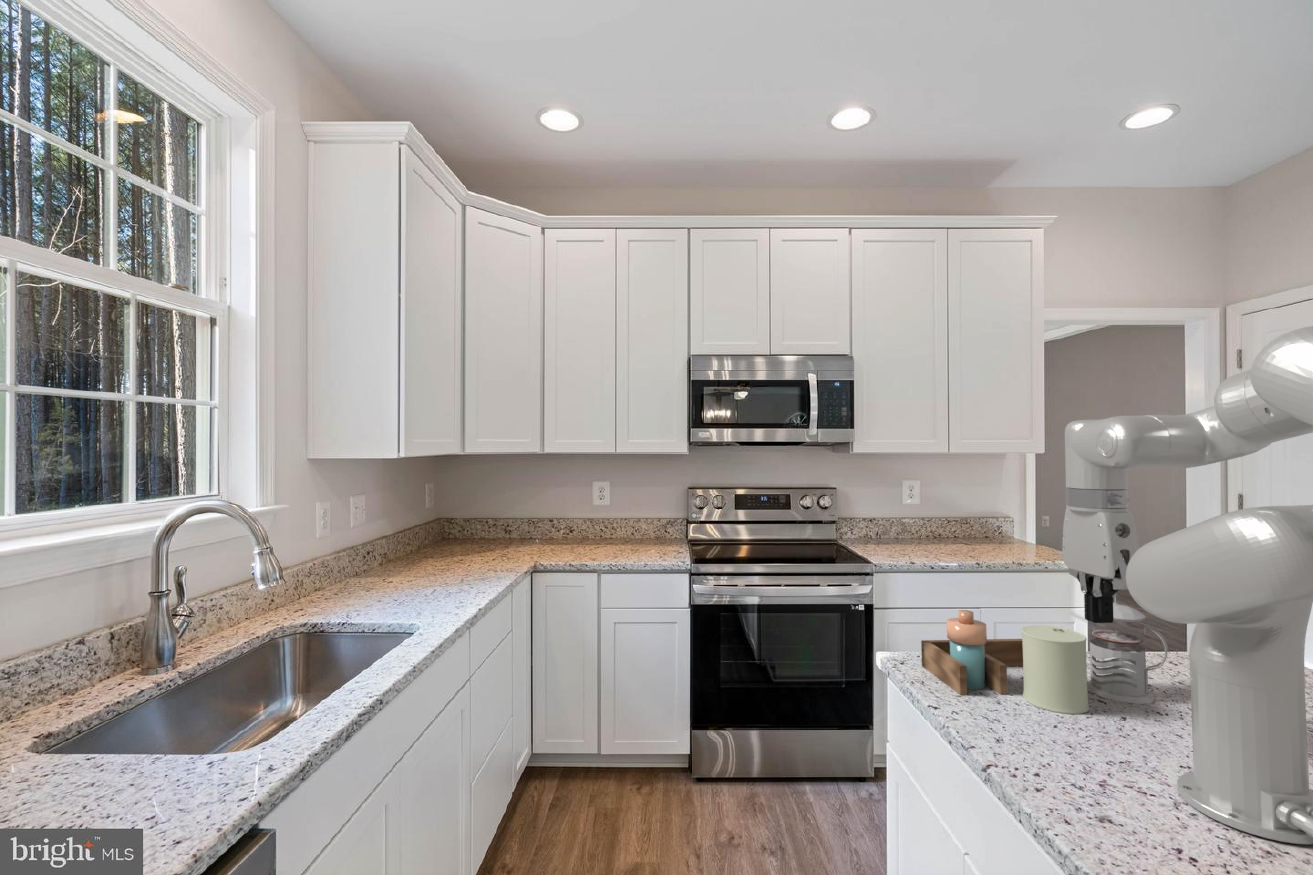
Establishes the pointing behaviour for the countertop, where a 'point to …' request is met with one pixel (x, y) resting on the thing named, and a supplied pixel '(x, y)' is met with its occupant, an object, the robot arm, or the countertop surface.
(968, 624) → the lid
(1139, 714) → the countertop surface
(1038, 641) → the can
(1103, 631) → the french press
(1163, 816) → the countertop surface
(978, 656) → the jar
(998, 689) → the caddy
